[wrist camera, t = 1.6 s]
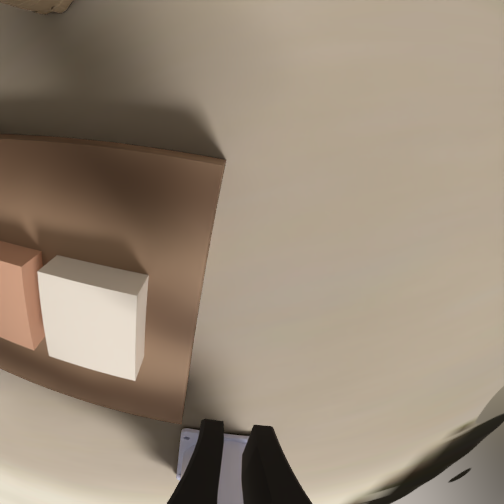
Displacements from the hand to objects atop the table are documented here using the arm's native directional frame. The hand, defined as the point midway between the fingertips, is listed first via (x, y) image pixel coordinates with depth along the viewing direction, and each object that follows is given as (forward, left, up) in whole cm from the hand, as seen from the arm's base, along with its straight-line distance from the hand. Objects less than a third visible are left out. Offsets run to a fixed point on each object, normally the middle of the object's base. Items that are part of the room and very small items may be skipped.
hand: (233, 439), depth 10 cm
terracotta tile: (0, +13, -6) cm, 14 cm away
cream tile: (0, +7, -6) cm, 9 cm away
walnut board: (0, +10, -9) cm, 13 cm away
